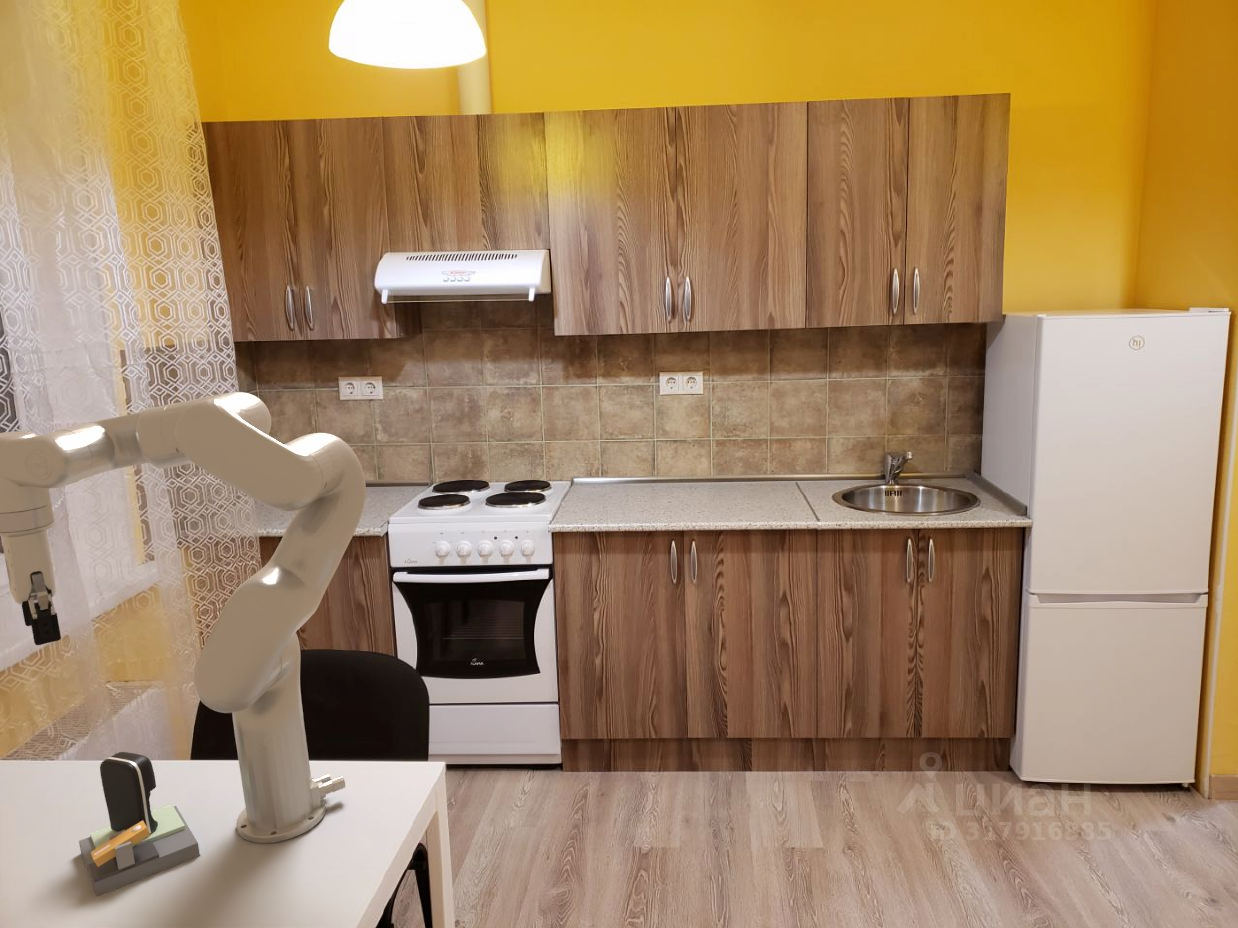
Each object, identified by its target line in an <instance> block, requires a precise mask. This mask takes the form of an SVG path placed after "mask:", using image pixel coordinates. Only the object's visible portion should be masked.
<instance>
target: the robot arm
mask: <svg viewBox="0 0 1238 928" xmlns="http://www.w3.org/2000/svg"><path fill="white" fill-rule="evenodd" d="M271 428H272V416H271V413H270V410H269V409H268V407H267V405H266V404H265V402H264V401H263V400H262V399H261V398H259V397H257V396H256V395H254V394H251V393H248V392H245V391H244V392H242V391H232V392H230V391H229V392H225V393H219V394H214V395H210V396H209V395H208V396H206V397H204V396H203V397H200V398H194V399H190V400H184V401H181V402H176V403H169V404H165V405H159V406H154V407H149V408H144V409H143V410H142V411H141V412H136V413H131V414H126V415H119V416H116V417H115V416H114V417H111V418H106V419H100V420H95V421H91V422H84V423H81V424H76V425H73V426H68V427H65V428H62V429H57V430H54V431H51V432H47V433H43V434H39V435H38V434H36V433H34V432H32V431H26V430H24V431H23V430H21V431H19V430H18V431H16V430H15V431H6V432H0V537H1V539H2V546H3V547H2V548H3V554H4V560H5V565H6V572H7V579H8V586H9V590H10V595H12V598H13V600H14V601H15V603H16V604H18V605H21V609H22V615H23V619H24V624H25V626H26V627H31V632H32V637H33V642H34V645H35V646H41V645H45V644H49V643H53V642H58V641H60V640H61V638H62V636H61V629H60V625H59V619H58V613H57V612H56V609H55V606H54V602H53V598H54V597H55V595H56V593H57V590H56V581H55V580H56V579H55V573H54V565H53V559H52V555H51V554H52V553H51V548H50V541H49V536H48V531H47V530H49V529H51V528H54V527H55V525H56V522H55V515H54V511H53V504H52V499H51V494H50V489H59V488H63V487H65V486H68V485H72V484H75V483H77V482H79V481H81V480H84V479H87V478H90V477H93V476H97V475H100V474H101V473H105V472H109V471H113V470H117V469H118V470H119V469H123V468H128V467H133V466H139V465H145V464H150V465H152V466H154V467H156V468H159V469H168V468H170V469H171V468H175V467H179V466H180V467H181V466H184V465H188V464H195V465H196V466H197V467H198V468H200V469H202V470H203V471H205V472H207V473H208V474H210V475H211V476H213V477H215V478H217V479H218V480H219V481H222V482H223V483H225V484H226V485H229V486H230V487H232V488H233V489H235V490H237V491H239V492H241V493H242V494H244V495H245V496H247V497H249V498H251V499H252V500H253V501H256V502H258V503H259V504H261V505H263V506H265V507H267V508H269V509H273V510H275V511H280V512H281V511H283V512H293V511H296V512H295V514H294V516H293V517H292V519H291V520H290V522H289V523H288V526H287V527H286V529H285V532H284V533H283V535H282V538H281V540H280V542H279V543H278V545H277V548H276V549H275V550H274V552H273V555H272V556H271V558H270V559H269V561H268V562H267V563H266V564H265V565H264V566H263V567H262V568H260V569H259V570H258V571H257V572H255V573H254V574H253V575H252V576H250V577H249V578H247V579H245V581H244V582H243V583H241V584H240V585H239V586H238V587H237V588H236V589H234V591H233V593H232V594H231V595H230V597H229V598H228V599H227V601H226V603H225V604H224V606H223V608H222V609H221V612H220V614H219V615H218V616H217V617H218V618H217V620H216V621H215V622H214V623H215V624H214V625H213V628H212V630H211V631H210V633H209V635H208V637H207V639H206V641H205V643H204V645H203V647H202V650H201V651H200V654H198V658H197V659H196V662H195V665H194V669H193V675H192V677H193V686H194V687H193V688H194V691H195V693H196V695H197V697H198V699H199V700H200V701H201V703H202V704H203V705H205V706H206V707H207V708H208V709H210V710H213V711H215V712H218V713H222V714H232V715H231V716H232V723H233V730H234V731H233V732H234V738H235V744H236V745H235V746H236V750H237V759H238V766H239V771H240V772H239V773H240V778H241V784H242V785H241V786H242V792H243V798H244V806H245V808H244V809H242V811H241V812H240V814H238V817H237V819H236V829H237V833H238V834H239V836H240V837H241V838H242V839H244V840H247V841H249V842H254V843H259V844H265V843H266V844H267V843H268V844H269V843H275V842H276V843H277V842H282V841H285V840H290V839H292V838H296V837H297V836H300V835H302V834H305V833H306V832H307V831H309V830H311V829H312V828H314V827H315V826H316V825H317V824H318V823H320V821H321V820H322V819H323V817H324V816H325V815H326V811H327V804H326V800H325V798H326V797H327V795H329V794H331V793H335V792H337V791H340V790H343V789H346V782H345V778H344V777H343V775H339V776H337V777H334V778H331V775H330V774H329V773H326V774H324V775H322V776H320V777H317V778H314V777H312V774H311V773H312V772H311V766H310V760H309V752H308V743H307V735H306V729H305V721H304V712H303V704H302V703H303V702H302V693H301V692H302V691H301V646H300V641H299V637H298V635H297V631H298V630H300V628H301V627H302V626H303V625H304V624H305V623H306V622H307V621H309V619H310V618H311V617H313V615H314V614H315V613H316V611H317V609H318V608H319V606H320V604H321V602H322V600H323V598H324V595H325V593H326V591H327V589H328V586H329V585H330V583H331V580H332V579H333V577H334V575H335V573H336V571H337V569H338V567H339V566H340V563H341V561H342V559H343V557H344V554H345V552H346V550H347V548H348V546H349V545H350V542H351V540H353V539H352V538H353V536H354V535H355V533H356V530H357V528H358V526H359V523H360V520H361V517H362V515H363V512H364V507H365V503H366V493H367V491H366V489H367V486H366V479H365V473H364V469H363V467H362V464H361V462H360V460H359V458H358V456H357V455H356V453H355V451H354V450H353V449H352V448H351V446H350V445H349V444H348V443H346V441H344V440H343V439H342V438H341V437H339V436H336V435H334V434H331V433H326V432H313V433H309V434H304V435H301V436H299V437H297V438H295V439H292V440H291V441H288V442H286V443H282V442H280V441H278V440H276V439H275V438H273V437H271V436H270V432H271Z"/></svg>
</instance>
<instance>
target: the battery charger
mask: <svg viewBox="0 0 1238 928" xmlns="http://www.w3.org/2000/svg"><path fill="white" fill-rule="evenodd" d="M99 773H100V779H101V785H102V790H103V794H104V799H105V800H104V801H105V803H106V808H107V813H108V817H109V818H108V819H109V824H110V825H109V826H111V829H112V830H114V831H118V832H120V831H122V830H125V831H126V830H128V829H129V828H131V827H132V826H134V825H136V824H137V823H139V822H141V821H142V820H143V821H144V823H145V825H146V826H147V828H148V830H149V832H150V833H151V832H152V831H154V830H155V829H156V828H157V826H158V822H157V821H155V820H154V819H153V817H152V815H151V811H152V810H151V804H150V799H151V798H150V797H151V794H152V793H151V792H152V791H153V790H154V789H156V788H157V783H156V776H155V771H154V767H153V763H152V761H151V760H150V758H148V756H145V755H143V754H138V753H133V752H127V751H119V752H117V753H115V754H113V755H111V756H110V757H106V758H105V759H104V760H103V761H102V762H101V763H100V765H99Z"/></svg>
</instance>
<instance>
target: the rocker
mask: <svg viewBox="0 0 1238 928" xmlns="http://www.w3.org/2000/svg"><path fill="white" fill-rule="evenodd" d="M149 835H150V832H149V830H148V828H147V826H146V825H145V823H144V821H143V820H142V821H141V822H139V823H137V824H136V825H134V826H132V827H131V828H129V829H128V830H126V831H124V832H123V833H121V834H119V835H118V836H116V837H115V838H113V839H111V840H110V841H108V842H106V843H105V844H103V845H101V846H100V847H98V848H97V849H95V850H93V851H92V852H91V855H92V857H93V860H94V862H95V863H96V865H97V867H99V866H100V865H102V864H104V863H105V862H107V861H108V860H110V859H112V858H113V857H115V856H116V855H115V849H114V847H116V846H119V845H121V844H124V843H127V842H130V841H131V844H132V846H133V845H134V844H136V843H137V842H139V841H141V840H142V839H144V838H145V837H147V836H149Z"/></svg>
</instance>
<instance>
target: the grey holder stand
mask: <svg viewBox="0 0 1238 928" xmlns="http://www.w3.org/2000/svg"><path fill="white" fill-rule="evenodd" d="M151 815H152V817H153V819H154V820H155V821H157V822H158V826H157V828H156V829H155V830H154V831H152V832H151V833H150V835H149V836H147V837H145V838H144V839H142V840H141V841H139V842H137V843H136V844H134V845H133V846H132V844H131V841H130V842H127V843H124V844H121V845H119V846H116V847H114V849H115V855H116V856H115V857H113V858H112V859H110V860H108V861H107V862H105V863H104V864H102V865H100V866H99V867H97V865H96V863H95V862H94V860H93V857H92V855H91V852H92V851H93V850H95V849H97V848H98V847H100V846H101V845H103V844H105V843H106V842H108V841H110V840H111V839H113V838H115V837H116V836H118V835H119V834H121V833H123V832H124V831H125V830H122V831H120V832H118V831H114V830H112V829H111V825H109V826H107V827H103V828H101V829H98V830H96V831H92V832H90V833H89V835H90V836H89V837H86V838H82V839H80V840H78V845H79V850H80V854H81V857H82V859H83V862H84V866H85V867H86V869H87V872H88V876H89V878H90V881H91V883H92V887H93V890H94V892H95V895H96V897H99V896H101V895H104V894H106V893H108V892H111V891H114V890H117V889H118V888H121V887H124V886H126V885H129V884H131V883H134V882H137V881H139V880H141V879H145V878H146V877H149V876H151V875H154V874H156V873H159V872H162V871H164V870H167V869H169V868H172V867H174V866H176V865H179V864H181V863H184V862H186V861H189V860H192V859H194V858H197V857H200V855H201V854H200V848H199V843H198V841H197V839H196V837H195V835H194V834H193V832H192V830H191V829H190V827H189V825H188V824H187V822H186V820H185V818H184V817H183V815H182V813H181V812H180V810H179V808H178V807H177V805H174V804H172V803H170V804H168V805H164V806H163V807H160V808H157V809H153V810H151Z"/></svg>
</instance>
